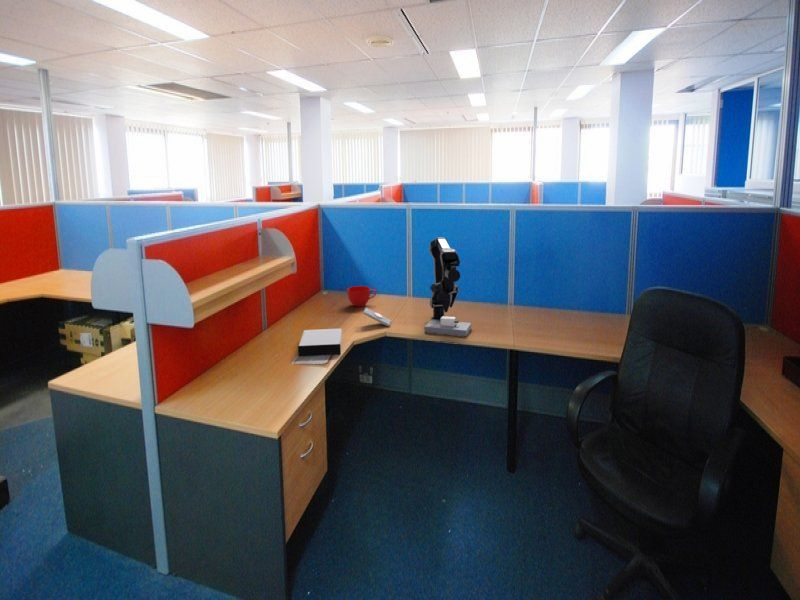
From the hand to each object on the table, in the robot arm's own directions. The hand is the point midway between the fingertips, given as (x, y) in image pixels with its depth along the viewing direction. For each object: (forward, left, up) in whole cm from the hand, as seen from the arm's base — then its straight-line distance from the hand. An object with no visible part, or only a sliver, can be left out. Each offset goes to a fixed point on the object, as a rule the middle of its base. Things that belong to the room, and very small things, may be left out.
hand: (448, 309), depth 227 cm
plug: (0, 0, -10) cm, 10 cm away
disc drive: (+37, -48, -11) cm, 62 cm away
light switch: (+1, -37, -11) cm, 38 cm away
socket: (0, 0, -11) cm, 11 cm away
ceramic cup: (-31, -59, -11) cm, 68 cm away
